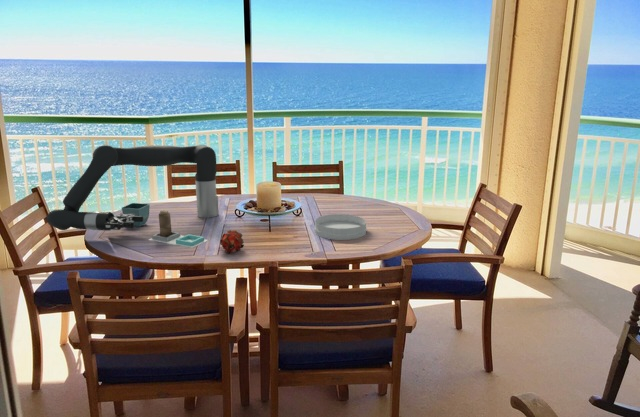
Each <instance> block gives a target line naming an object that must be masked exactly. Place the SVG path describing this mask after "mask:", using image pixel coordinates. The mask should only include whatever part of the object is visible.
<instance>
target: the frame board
mask: <svg viewBox="0 0 640 417" xmlns="http://www.w3.org/2000/svg"><path fill="white" fill-rule="evenodd" d="M147 240H148V241H153V242H159V243H164V244H168V245H169V244H170V245H174V246H182V247H186V248H195V247H197V246H199V245H202V244H204V243H205V242H207V241H209V239H206V238H205V237H204V236H201V235H194V234H191V233H190V234H189V233H188V234H186V235H182V234H181V233H180V232H178V231H172V235H171V236H169V237H162V236H160V232H158V233H155V234H153V235H151V238H148V239H147Z"/></svg>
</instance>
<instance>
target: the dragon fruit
mask: <svg viewBox="0 0 640 417" xmlns="http://www.w3.org/2000/svg"><path fill="white" fill-rule="evenodd" d="M242 237H243V234H242V233H241V232H239V231H238V230H236V229H234V230H231V229H229V230H227V232H226V233H223V234H222V235H221V239H220V241H219V244H220V245H221V247H222V249H223V250H225V252H226V254H228V255H229V254H231V253H235V252H239V251H240V250H241V249H243V248H244V246H245V243H244V239H243V238H242Z"/></svg>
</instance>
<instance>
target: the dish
mask: <svg viewBox="0 0 640 417" xmlns="http://www.w3.org/2000/svg"><path fill="white" fill-rule="evenodd" d="M314 222H315V223H314V224H315V226H314V233H315V234H316V235H317V236H319V237H320V238H324V239H329V240H339V241H341V240H343V241H344V240H345V241H347V240H355V239H360V238H361V237H364V236H365V235H366V234H367V221H366V219H364V218H363V217H361V216H357V215H352V214H345V213H344V214H342V213H341V214H339V213H333V214H326V215H322V216H319V217H317V218H316V219H315V221H314Z"/></svg>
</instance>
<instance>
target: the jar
mask: <svg viewBox="0 0 640 417" xmlns="http://www.w3.org/2000/svg"><path fill="white" fill-rule="evenodd" d="M171 219H172V218H171V213H170V212H169V210H168V209H165V210H164V209H163V210H160V212H159V213H158V223H159V224H158V225H159V233H160V236H162V237H169V236H171V235H172V232H173V231H172V220H171Z"/></svg>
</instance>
